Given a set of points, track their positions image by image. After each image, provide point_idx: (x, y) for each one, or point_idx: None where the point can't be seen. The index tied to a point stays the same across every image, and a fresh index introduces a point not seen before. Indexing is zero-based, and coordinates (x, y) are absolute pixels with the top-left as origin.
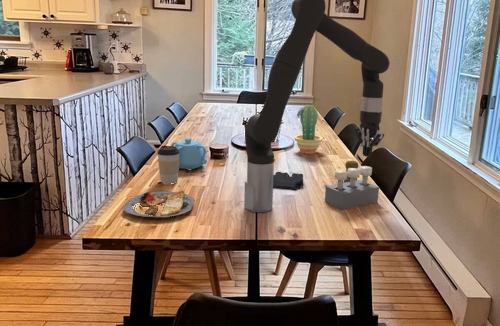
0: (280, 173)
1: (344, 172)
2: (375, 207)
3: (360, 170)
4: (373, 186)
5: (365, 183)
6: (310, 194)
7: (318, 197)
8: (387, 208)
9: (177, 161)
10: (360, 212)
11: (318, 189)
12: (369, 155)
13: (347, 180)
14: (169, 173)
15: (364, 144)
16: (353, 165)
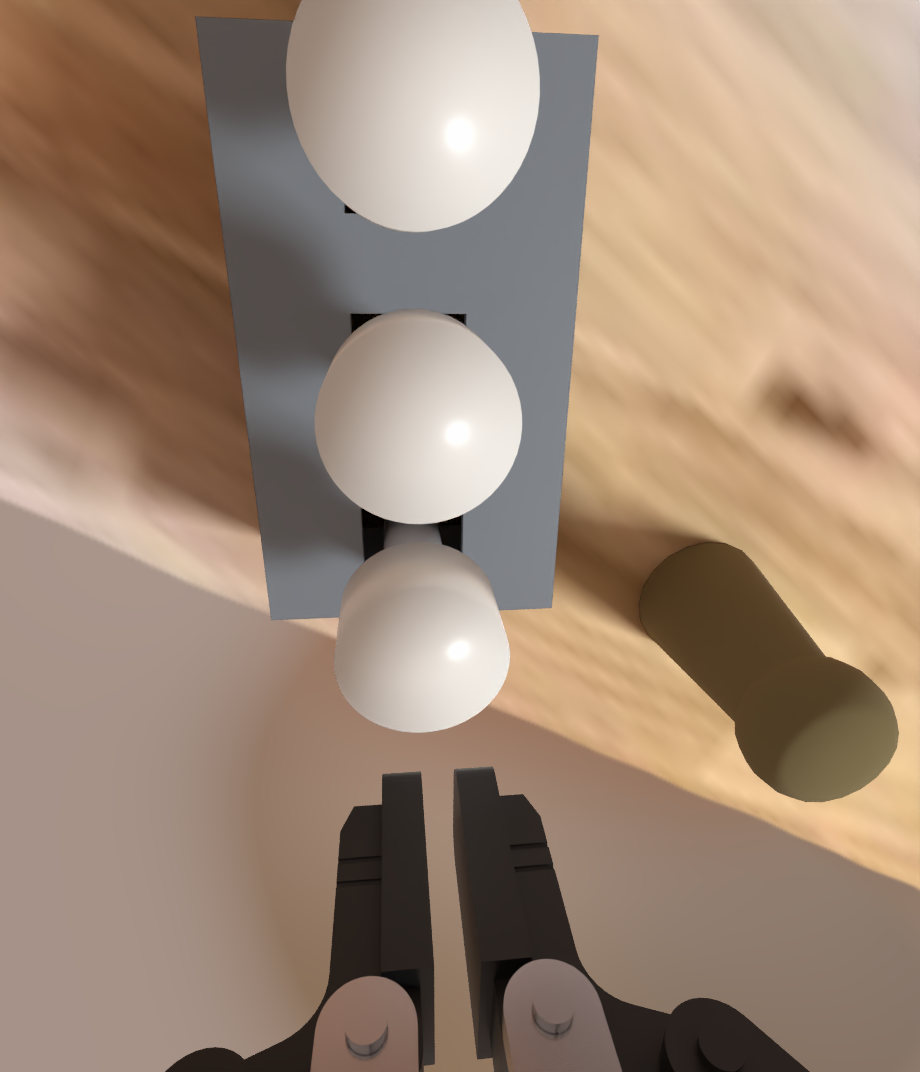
0: None
1: (343, 118)
2: (193, 446)
3: (441, 569)
4: (311, 585)
5: (385, 548)
6: (788, 94)
7: (671, 111)
8: (137, 521)
9: None
10: (117, 210)
11: (833, 295)
12: (355, 827)
13: (725, 588)
14: None
15: (508, 1016)
16: (770, 717)
